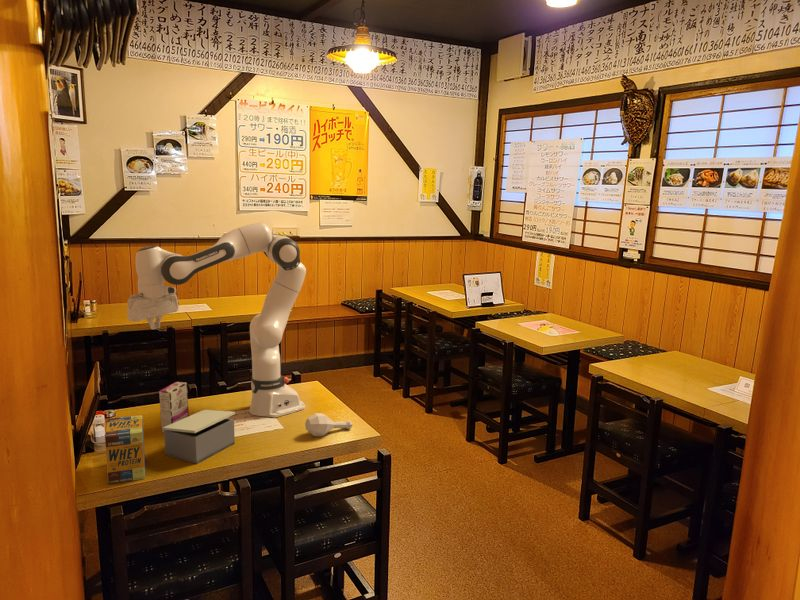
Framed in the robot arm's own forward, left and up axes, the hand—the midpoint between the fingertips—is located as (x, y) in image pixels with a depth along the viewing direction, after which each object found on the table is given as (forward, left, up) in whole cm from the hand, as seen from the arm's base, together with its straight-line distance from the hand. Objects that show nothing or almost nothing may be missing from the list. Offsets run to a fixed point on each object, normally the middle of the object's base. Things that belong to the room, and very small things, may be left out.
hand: (155, 328), depth 213 cm
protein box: (+17, +31, -38) cm, 52 cm away
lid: (-7, +28, -28) cm, 40 cm away
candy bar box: (-4, +4, -38) cm, 39 cm away
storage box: (-7, +27, -38) cm, 47 cm away
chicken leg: (-52, +37, -38) cm, 74 cm away
